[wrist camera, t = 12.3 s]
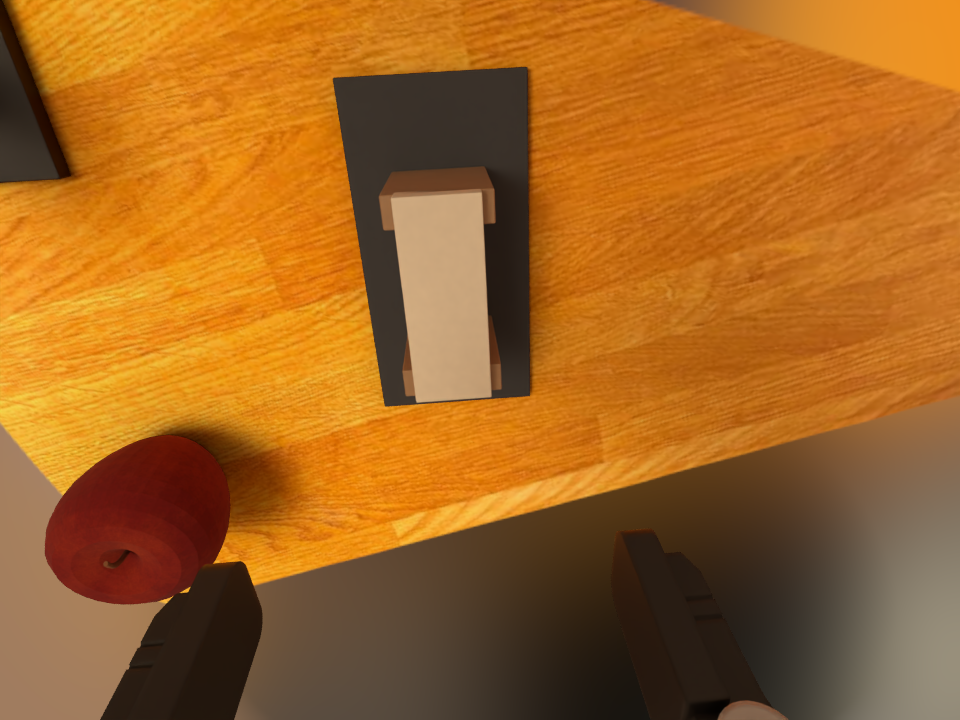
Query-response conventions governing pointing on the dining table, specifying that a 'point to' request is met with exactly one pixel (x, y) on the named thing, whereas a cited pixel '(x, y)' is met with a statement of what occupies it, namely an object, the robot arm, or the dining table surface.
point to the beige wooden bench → (444, 280)
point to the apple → (140, 522)
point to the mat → (441, 145)
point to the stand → (24, 118)
